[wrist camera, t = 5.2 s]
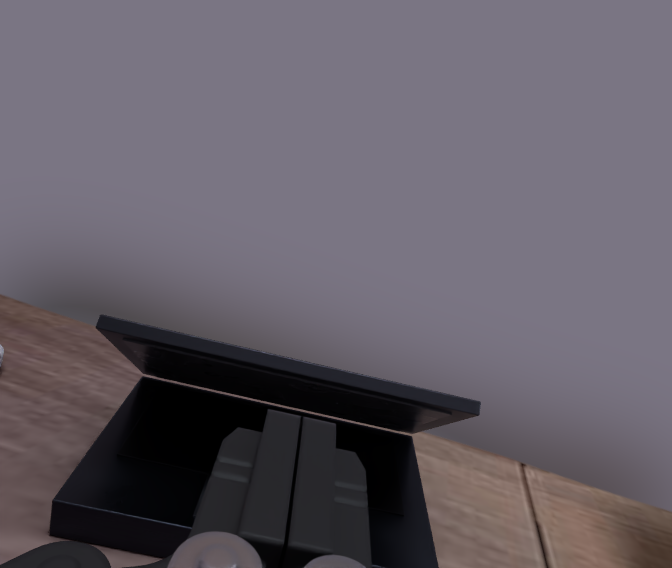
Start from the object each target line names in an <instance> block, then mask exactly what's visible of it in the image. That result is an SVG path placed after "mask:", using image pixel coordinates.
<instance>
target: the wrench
mask: <svg viewBox="0 0 672 568" xmlns="http://www.w3.org/2000/svg"><path fill="white" fill-rule="evenodd" d="M3 354H4V350H3V347H2V346H1V345H0V367H1V364H2V359H3Z"/></svg>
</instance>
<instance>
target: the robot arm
mask: <svg viewBox="0 0 672 568" xmlns="http://www.w3.org/2000/svg"><path fill="white" fill-rule="evenodd" d="M300 418H301V416H298V415H293V414H289V413H284V412H280V411H275V410H270V409H268V412H267V416H266V420H265V424H264V428H263V432H258V431H254V430H249V429H244V428H240V427H238V428H237V429H235V430H234V431H233V432H232V433H231V434H230V435H228V436H227V437H226V438H225V439H224V440H223V442H222V445H221V447H220V450H219V453H218V456H217V459H216V461H215V464H214V467H213V470H212V473H211V476H210V478H209V481H208V484H207V487H206V490H205V492H204V495H203V498H202V501H201V504H200V507H199V509H198V512H197V515H196V518H195V521H194V524H193V526H192V529H191V532H190V534H189V536H188V538H187V540H186V541H185V542H183V543H182V544H181V545H180V546H179V547H178V548H177V550H176V551H175V552H174V553H173V554H172V555H170V556H168V557H167V558H165V559H163V560H160V561H158V562H155V563H152V564H148V565H142V566H135V567H124V568H372V562H371V546H370V531H369V515H368V508H367V506H368V499H367V492H366V491H367V483H366V470H365V468H364V466H363V465H362V463H361V461H360V460H359V458H358V456H357V454H356V453H355V452H352V451H347V450H342V449H338V448H336V424H335V423H330V422H326V421H321V420H317V419H312V418H308V417H303V418H302V421H301V425H300ZM299 426H300V429H299ZM0 568H111V566H110V563H109V561H108V559H107V558H106V556H105V555H104V554H103V553H102V552H101V551H100V550H98V549H97V548H95V547H93V546H91V545H89V544H86V543H82V542H75V541H60V542H54V543H50V544H46V545H42V546H40V547H38V548H35V549H33V550H31V551H29V552H27V553H24V554H22V555H20V556H18V557H16V558H14V559H12V560H10V561H8V562H6V563H3V564H1V565H0Z"/></svg>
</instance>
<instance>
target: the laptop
mask: <svg viewBox="0 0 672 568" xmlns="http://www.w3.org/2000/svg"><path fill="white" fill-rule="evenodd" d="M268 409H270V410H275V411H280V412H284V413H289V414H293V415H298V416H301V418H300V425H301V421H302V418H303V417H308V418H312V419H317V420H321V421H326V422H330V423H335V424H336V448H338V449H342V450H347V451H352V452H355V453H356V454H357V456H358V458H359V460H360V461H361V463H362V465H363V466H364V468H365V470H366V483H367V491H366V492H367V499H368V506H367V508H368V515H369V531H370V546H371V562H372V568H439V567H438V562H437V557H436V552H435V547H434V542H433V537H432V532H431V528H430V523H429V518H428V513H427V508H426V503H425V498H424V493H423V488H422V483H421V478H420V473H419V468H418V463H417V459H416V454H415V449H414V444H413V439H412V436H408V435H404V434H399V433H395V432H390V431H386V430H381V429H377V428H372V427H368V426H363V425H359V424H354V423H350V422H345V421H341V420H336V419H332V418H328V417H323V416H319V415H314V414H310V413H305V412H301V411H296V410H292V409H287V408H283V407H278V406H274V405H269V404H265V403H260V402H256V401H251V400H247V399H243V398H238V397H234V396H229V395H225V394H220V393H216V392H211V391H207V390H202V389H198V388H193V387H189V386H184V385H180V384H175V383H171V382H166V381H162V380H157V379H153V378H149V377H144V376H142V377H141V379H140V380H139V382H138V383H137V384H136V386H135V387H134V389H133V390H132V391H131V393H130V394H129V395H128V397H127V398H126V400H125V401H124V402H123V404H122V405H121V406H120V408H119V409H118V411H117V412H116V413H115V415H114V416H113V418H112V419H111V420H110V422H109V423H108V424H107V426H106V427H105V429H104V430H103V431H102V433H101V434H100V435H99V437H98V438H97V440H96V441H95V442H94V444H93V445H92V447H91V448H90V449H89V451H88V452H87V453H86V455H85V456H84V458H83V459H82V460H81V462H80V463H79V464H78V466H77V467H76V469H75V470H74V471H73V473H72V474H71V476H70V477H69V478H68V480H67V481H66V482H65V484H64V485H63V487H62V488H61V489H60V491H59V492H58V493H57V495H56V496H55V498H54V499H53V500H52V511H51V521H50V532H49V534H50V535H54V536H59V537H64V538H68V539H73V540H78V541H83V542H88V543H93V544H98V545H103V546H108V547H113V548H118V549H123V550H128V551H133V552H138V553H143V554H148V555H153V556H158V557H163V558H167V557H168V556H170V555H172V554H173V553H174V552H175V551H176V550H177V548H178V547H179V546H180V545H181V544H182V543H183V542H185V541H186V540H187V538H188V536H189V534H190V532H191V529H192V526H193V524H194V521H195V518H196V515H197V512H198V509H199V507H200V504H201V501H202V498H203V495H204V492H205V490H206V487H207V484H208V481H209V478H210V476H211V473H212V470H213V467H214V464H215V461H216V459H217V456H218V453H219V450H220V447H221V445H222V442H223V440H224V439H225V438H226V437H227V436H228V435H230V434H231V433H232V432H233V431H234V430H235V429H237V428H238V427H240V428H244V429H249V430H254V431H258V432H263V428H264V424H265V420H266V416H267V412H268ZM299 429H300V426H299Z"/></svg>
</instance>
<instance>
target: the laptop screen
mask: <svg viewBox="0 0 672 568" xmlns="http://www.w3.org/2000/svg"><path fill="white" fill-rule="evenodd" d="M96 329H97V330H98V331H100V332H101V333H102V334H103V335H104V336H105V337H106V338H107V339H108V340H109V341H110V342H111V343H112V344H113V345H114V346H115V347H116V348H117V349H118V350H119V351H120V352H121V353H122V354H123V355H124V356H126V357H127V358H128V359H129V360H130V361H131V362H132V363H133V364H134V365H135V366H136V367H137V368H138V369H139V370H140V371H141V372H142V373H143V374H147V375H151V376H156V377H159V378H164V379H168V380H172V381H177V382H181V383H186V384H190V385H195V386H199V387H204V388H208V389H213V390H217V391H222V392H226V393H231V394H235V395H239V396H244V397H248V398H253V399H257V400H262V401H266V402H271V403H275V404H280V405H284V406H289V407H293V408H298V409H302V410H307V411H311V412H315V413H320V414H324V415H329V416H333V417H338V418H342V419H347V420H351V421H356V422H360V423H365V424H369V425H374V426H378V427H383V428H387V429H391V430H396V431H401V432H406V433H410V434H413V433H417V432H421V431H424V430H428V429H432V428H435V427H439V426H442V425H446V424H450V423H453V422H457V421H460V420H464V419H468V418H471V417H475V416H479V414H480V405H481V402H480V401H476V400H471V399H467V398H463V397H458V396H454V395H449V394H445V393H441V392H437V391H432V390H428V389H423V388H419V387H415V386H410V385H406V384H402V383H397V382H393V381H388V380H384V379H380V378H376V377H371V376H367V375H363V374H358V373H354V372H350V371H345V370H341V369H336V368H332V367H328V366H324V365H319V364H315V363H310V362H306V361H302V360H297V359H293V358H289V357H284V356H280V355H276V354H271V353H267V352H262V351H258V350H254V349H250V348H245V347H241V346H237V345H232V344H228V343H224V342H219V341H215V340H211V339H206V338H202V337H197V336H193V335H189V334H184V333H180V332H176V331H171V330H167V329H163V328H158V327H154V326H150V325H145V324H141V323H137V322H132V321H128V320H124V319H119V318H114V317H111V316H106V315H100V317H99V320H98V322H97V325H96Z"/></svg>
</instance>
